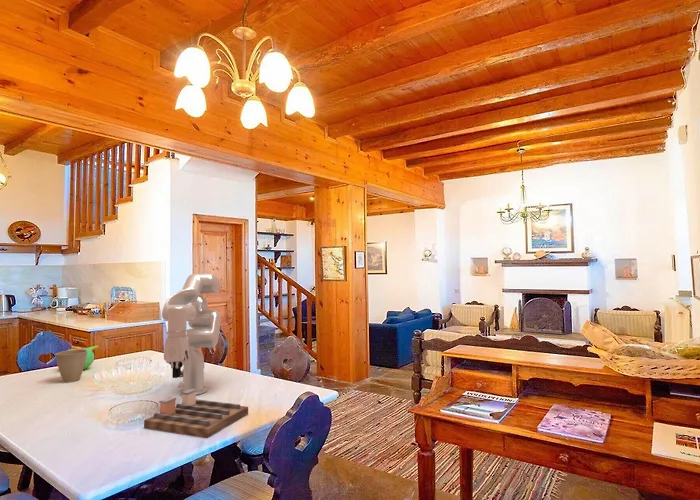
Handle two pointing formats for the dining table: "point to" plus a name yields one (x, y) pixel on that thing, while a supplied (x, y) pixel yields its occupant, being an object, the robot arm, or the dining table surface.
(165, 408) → the block
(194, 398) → the fader cream
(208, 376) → the dining table surface
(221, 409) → the board
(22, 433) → the dining table surface
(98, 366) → the dining table surface
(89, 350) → the toy bird
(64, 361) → the plant pot
